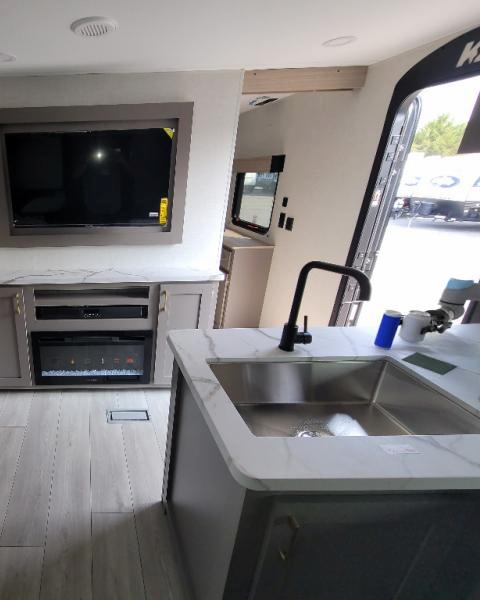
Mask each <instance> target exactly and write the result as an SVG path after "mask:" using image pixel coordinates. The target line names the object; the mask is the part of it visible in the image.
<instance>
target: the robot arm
mask: <svg viewBox="0 0 480 600" xmlns="http://www.w3.org/2000/svg"><path fill="white" fill-rule="evenodd" d="M442 288H443V289H442V291H441V294H440V297H439V299H438V301H437V304H436V306H433V307H431V308H429V309H426V310H423V312H426V313H429V314H430V318H431V321H430V324H429V325H428V326H426V327H423V328H422V329H421V332H420V335H423V334H425V335H426V334H428V333H430V334H432V333H437V334H442V335H443V334H444V333H445V331H447V330H448V329H451V328H452V326H453V323H454V322H452V321H455V320H458V319H460V318H461V317H462V316H464V314H465V312H466V309H465V305H466V302H467V301H473V302H474V301H476V302H480V282H475V280H474V279H473V278H471V277H467V276H460V275H453V276H449V277H448V278H447V280H446V281H445V283H444V285H443V287H442ZM406 313H408V311H407V312H403V313H402V312H401V314H402V317H401V320H400V323H399V326H398V327H401V325H402V322H403V319H404V316H405V314H406Z"/></svg>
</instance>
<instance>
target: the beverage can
mask: <svg viewBox="0 0 480 600" xmlns="http://www.w3.org/2000/svg"><path fill="white" fill-rule="evenodd" d="M381 317H382V318H381V320H380V323H379V326H378V330H377V332H376V335H375V338H374V342H373V344H374V346H375V347H376V348H378V349H382V350H389V349H391V348H392V346H393V343H394V340H395V336H396V334H397V332H398V328H399V327H400V326H399V323H400V320H401V317H402V312H400V311H398V310H393V309H386V310H385V311H384V312H383V314H382V316H381Z"/></svg>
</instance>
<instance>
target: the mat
mask: <svg viewBox="0 0 480 600" xmlns="http://www.w3.org/2000/svg"><path fill="white" fill-rule="evenodd" d="M401 361H404V362H407V363H409V364H411V365H414V366H418V367H420V368H423V369H425V370H428V371H431V372H434V373H436V374H438V375H443V374H446V373H448V372H450V371H451V370H453V369H455V368H457V367H458V365H455V364H452V363H449V362H447V361H444V360H441V359H438V358H435V357H432V356H429V355H426V354H423V353H420V352H417V351H416V352H414V353H412V354H410V355H408V356H405V357H403V358H402V359H401Z"/></svg>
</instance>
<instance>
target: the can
mask: <svg viewBox="0 0 480 600" xmlns="http://www.w3.org/2000/svg"><path fill="white" fill-rule="evenodd" d="M407 312H408V313H407ZM407 312H405V313H406V314H405V316H404V319H403V322H402V325H400V326H399V331H398V333H397V336H398V337H399V338H400V339H401V340H403V341H405V342H409V343H414V344H415V343H416V344H418V343H420V342H423V341H424V339H425V336H426V334H423V335H420V332H421V329H422V328H423V327H426V326H428V325H429V324H430V321H431V318H430V314H429V313H426V312H424V310H419V309H418V310H417V309H410V310H408V311H407Z"/></svg>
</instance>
